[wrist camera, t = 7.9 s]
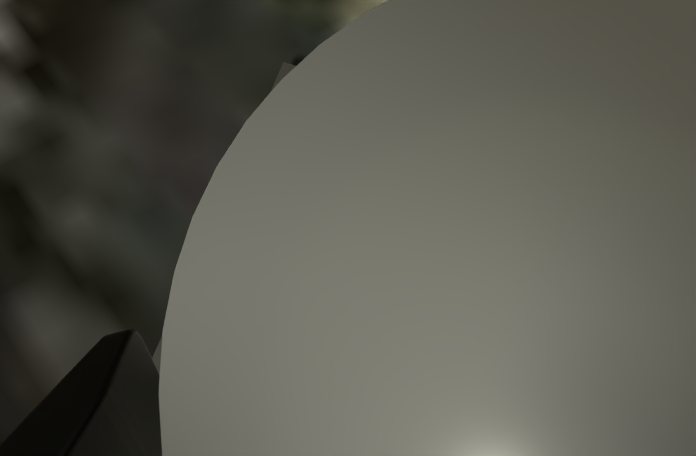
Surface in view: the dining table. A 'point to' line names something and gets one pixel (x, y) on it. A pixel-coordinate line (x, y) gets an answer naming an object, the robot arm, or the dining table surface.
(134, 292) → the dining table surface
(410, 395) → the cream bottle
